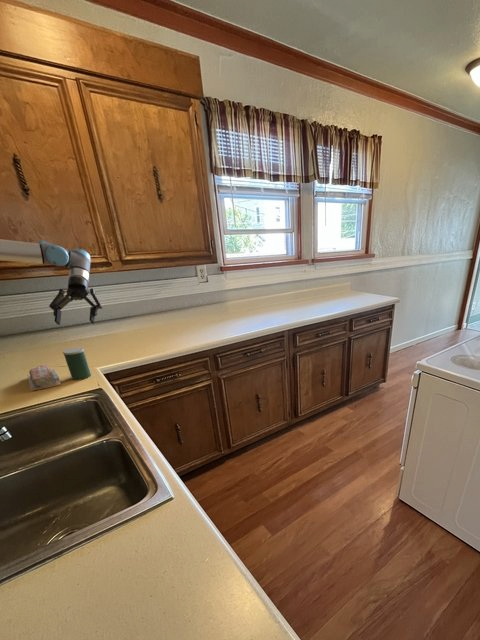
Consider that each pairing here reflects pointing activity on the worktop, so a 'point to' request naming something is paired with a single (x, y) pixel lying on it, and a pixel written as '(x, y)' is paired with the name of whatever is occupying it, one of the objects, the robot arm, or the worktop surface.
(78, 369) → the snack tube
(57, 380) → the packaged product
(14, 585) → the worktop surface
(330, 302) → the worktop surface
